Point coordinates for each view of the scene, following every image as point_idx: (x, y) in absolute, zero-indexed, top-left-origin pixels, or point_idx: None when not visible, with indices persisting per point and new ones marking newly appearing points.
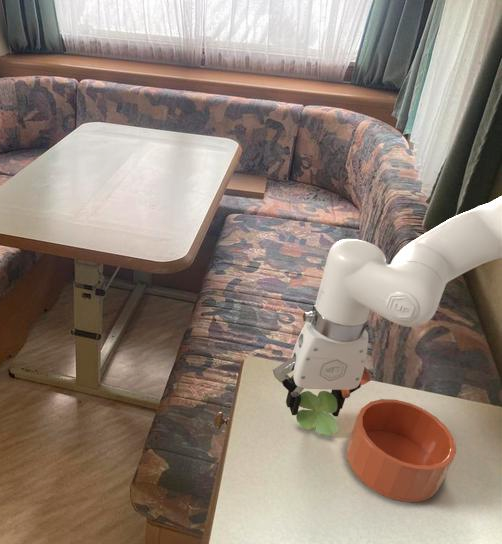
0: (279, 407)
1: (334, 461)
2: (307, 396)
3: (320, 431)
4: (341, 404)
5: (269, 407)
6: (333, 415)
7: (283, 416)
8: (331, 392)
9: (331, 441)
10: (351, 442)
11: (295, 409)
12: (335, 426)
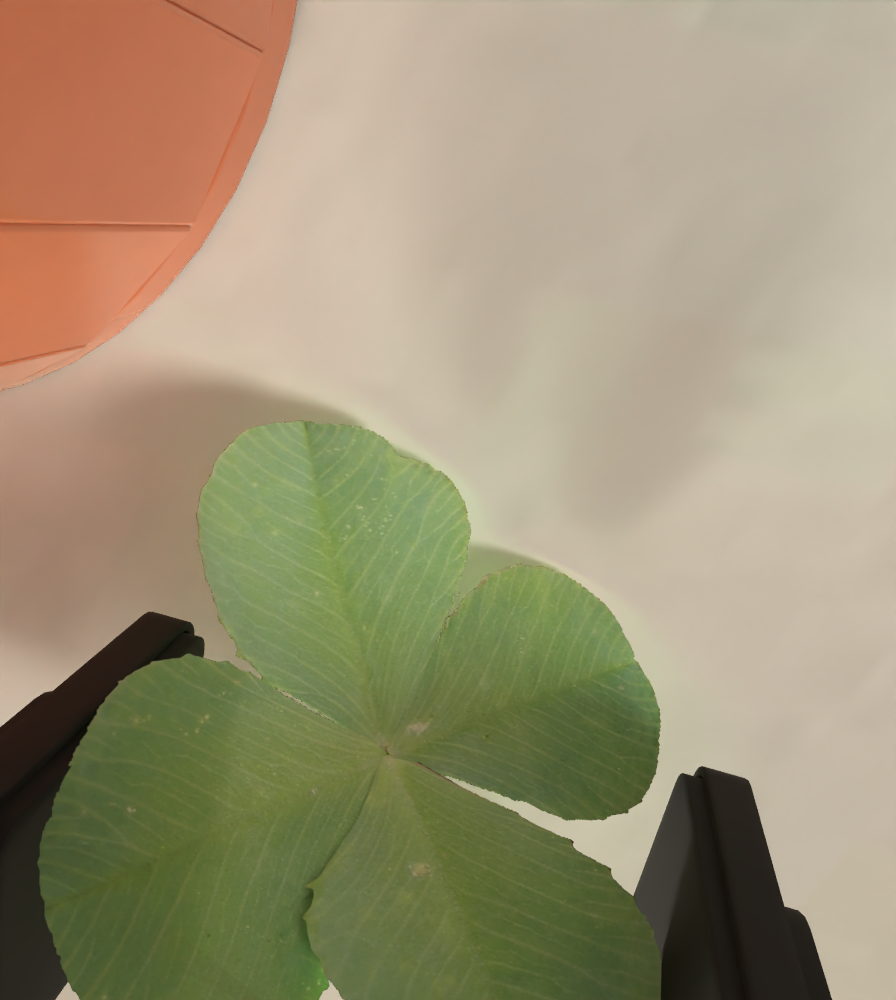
0: None
1: (477, 32)
2: None
3: (434, 498)
4: (5, 736)
5: None
6: (197, 636)
7: None
8: None
9: (360, 352)
10: (156, 33)
11: (754, 853)
12: (242, 486)
